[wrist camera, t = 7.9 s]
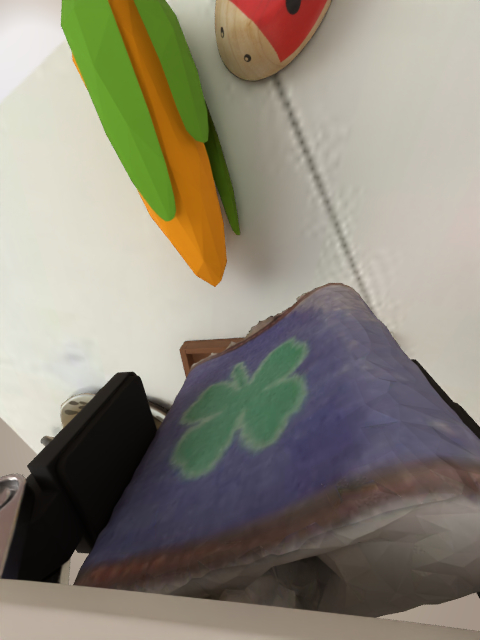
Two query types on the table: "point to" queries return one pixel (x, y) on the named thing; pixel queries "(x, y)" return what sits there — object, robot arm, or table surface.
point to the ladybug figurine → (264, 33)
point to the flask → (302, 476)
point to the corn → (156, 120)
